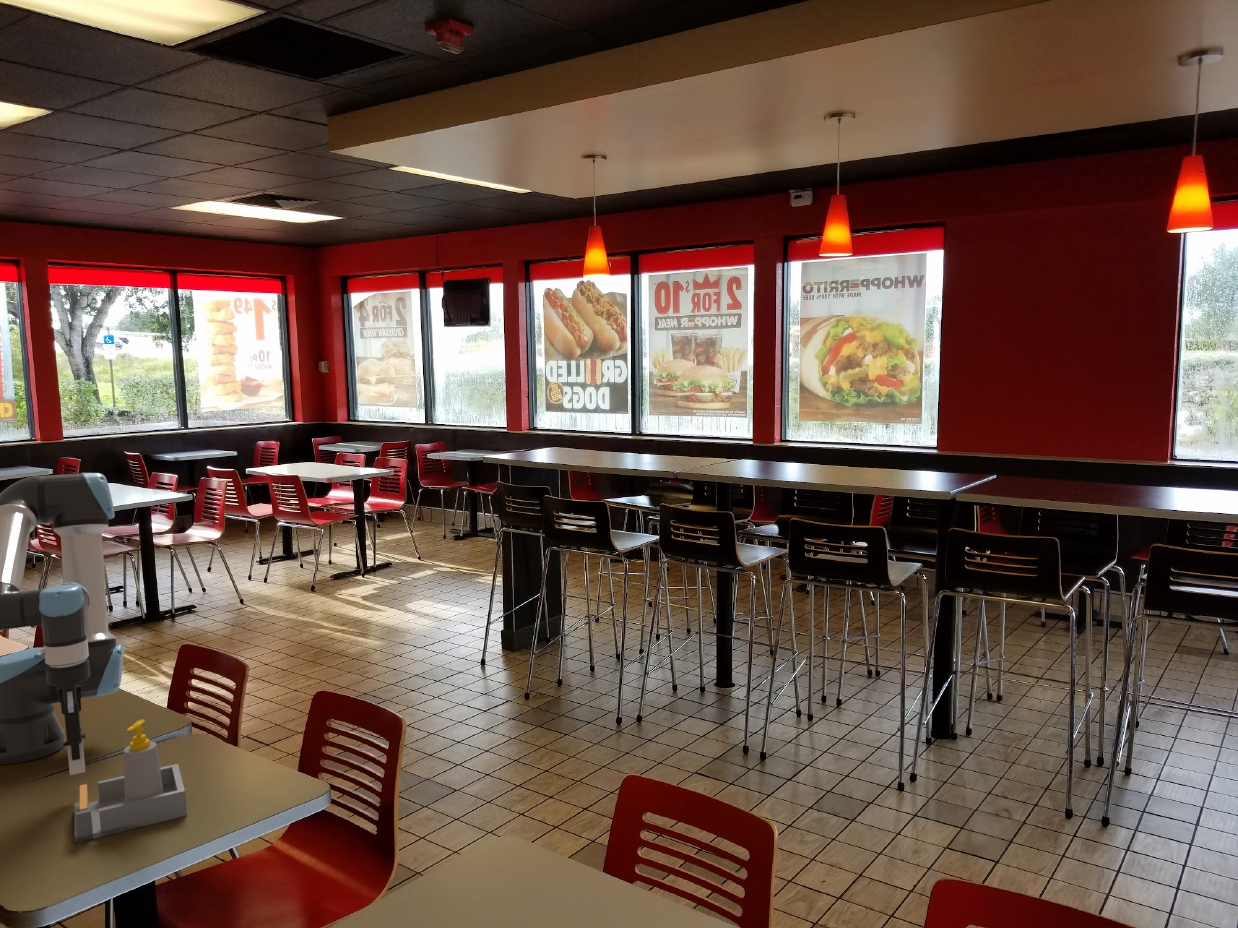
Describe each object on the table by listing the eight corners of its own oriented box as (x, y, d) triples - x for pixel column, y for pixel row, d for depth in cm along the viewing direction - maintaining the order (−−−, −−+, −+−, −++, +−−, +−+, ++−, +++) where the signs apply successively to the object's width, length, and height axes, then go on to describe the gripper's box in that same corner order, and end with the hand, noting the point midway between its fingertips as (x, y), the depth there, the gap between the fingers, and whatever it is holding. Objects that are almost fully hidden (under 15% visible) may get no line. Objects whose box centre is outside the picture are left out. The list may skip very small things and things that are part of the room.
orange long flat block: (81, 804, 176) (79, 785, 175) (88, 802, 176) (86, 783, 176) (81, 829, 165) (79, 809, 165) (88, 827, 166) (87, 807, 166)
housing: (75, 810, 176) (73, 784, 175) (179, 786, 185) (177, 761, 185) (75, 843, 163) (72, 815, 162) (186, 815, 173) (184, 788, 172)
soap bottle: (117, 819, 169) (110, 729, 168) (137, 802, 176) (129, 716, 175) (153, 818, 169) (146, 728, 168) (171, 801, 176) (164, 714, 175)
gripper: (46, 656, 182) (56, 764, 185) (44, 674, 171) (55, 789, 174) (88, 649, 186) (97, 755, 189) (89, 667, 175) (99, 779, 178)
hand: (77, 772), depth 182 cm, fingers closed
